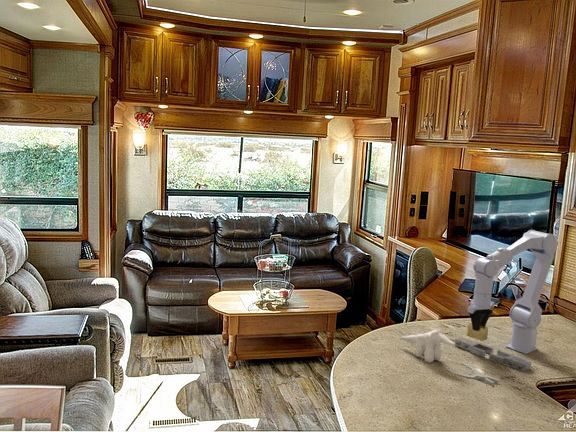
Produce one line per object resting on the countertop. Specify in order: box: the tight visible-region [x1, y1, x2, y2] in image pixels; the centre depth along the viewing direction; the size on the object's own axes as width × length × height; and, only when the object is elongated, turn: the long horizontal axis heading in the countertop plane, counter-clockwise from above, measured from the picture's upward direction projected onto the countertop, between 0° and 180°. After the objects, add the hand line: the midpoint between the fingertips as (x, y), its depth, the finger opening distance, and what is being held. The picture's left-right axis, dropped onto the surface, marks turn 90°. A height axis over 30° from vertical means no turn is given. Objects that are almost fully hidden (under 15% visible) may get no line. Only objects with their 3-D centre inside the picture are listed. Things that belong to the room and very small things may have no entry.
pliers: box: [445, 362, 500, 387], centre depth 166 cm, size 10×2×15 cm
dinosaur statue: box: [397, 328, 455, 363], centre depth 177 cm, size 7×24×11 cm, turn 36°
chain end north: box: [488, 349, 533, 373], centre depth 177 cm, size 6×12×2 cm, turn 40°
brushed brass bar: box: [466, 322, 489, 342], centre depth 184 cm, size 3×6×4 cm, turn 40°
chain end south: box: [454, 336, 494, 358], centre depth 188 cm, size 6×12×2 cm, turn 40°
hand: (478, 329), depth 184 cm, fingers closed on brushed brass bar, 3 cm apart
